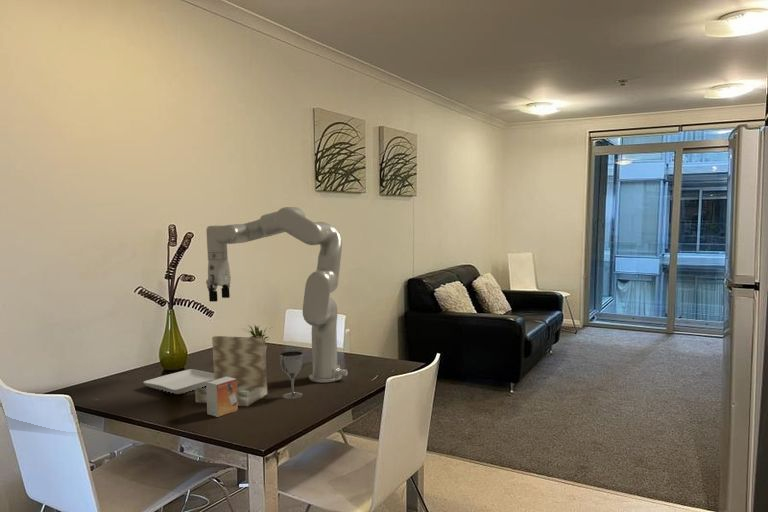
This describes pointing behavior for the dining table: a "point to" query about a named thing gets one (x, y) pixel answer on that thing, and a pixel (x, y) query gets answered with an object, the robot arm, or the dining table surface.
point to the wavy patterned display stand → (239, 367)
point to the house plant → (257, 333)
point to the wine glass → (291, 369)
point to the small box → (221, 396)
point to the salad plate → (181, 381)
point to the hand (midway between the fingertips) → (219, 299)
